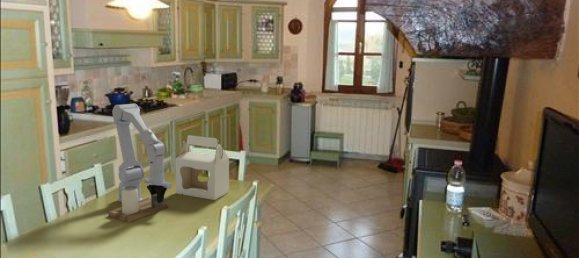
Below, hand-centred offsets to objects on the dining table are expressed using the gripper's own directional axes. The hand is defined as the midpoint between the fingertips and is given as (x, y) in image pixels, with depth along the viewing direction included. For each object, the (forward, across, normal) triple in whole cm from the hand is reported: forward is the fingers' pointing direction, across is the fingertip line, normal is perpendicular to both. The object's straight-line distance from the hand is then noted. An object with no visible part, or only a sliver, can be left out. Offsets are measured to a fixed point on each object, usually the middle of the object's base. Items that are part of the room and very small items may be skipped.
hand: (157, 201), depth 192 cm
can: (+4, -4, -11) cm, 12 cm away
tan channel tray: (+4, -5, -6) cm, 9 cm away
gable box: (+4, 0, +29) cm, 29 cm away
